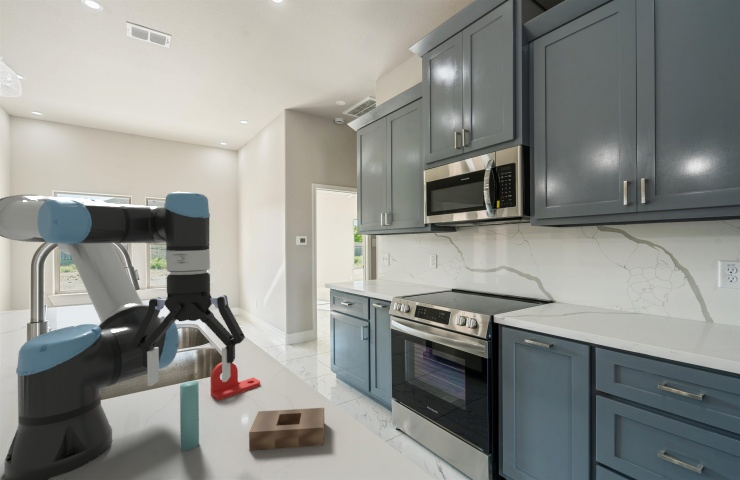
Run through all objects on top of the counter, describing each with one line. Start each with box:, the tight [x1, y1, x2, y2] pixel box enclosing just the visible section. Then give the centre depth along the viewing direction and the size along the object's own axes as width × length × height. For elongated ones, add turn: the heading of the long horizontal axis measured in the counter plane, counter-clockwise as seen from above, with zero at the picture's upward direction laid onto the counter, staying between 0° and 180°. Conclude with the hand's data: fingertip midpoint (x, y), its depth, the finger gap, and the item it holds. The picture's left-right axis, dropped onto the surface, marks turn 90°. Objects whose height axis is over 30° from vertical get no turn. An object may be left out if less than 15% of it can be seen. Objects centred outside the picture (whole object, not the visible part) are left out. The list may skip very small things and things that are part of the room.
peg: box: [179, 380, 200, 452], centre depth 68 cm, size 3×3×12 cm
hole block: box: [248, 407, 325, 451], centre depth 71 cm, size 14×8×4 cm, turn 96°
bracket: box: [210, 361, 261, 401], centre depth 93 cm, size 12×4×8 cm, turn 137°
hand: (190, 381), depth 68 cm, fingers open, 13 cm apart
